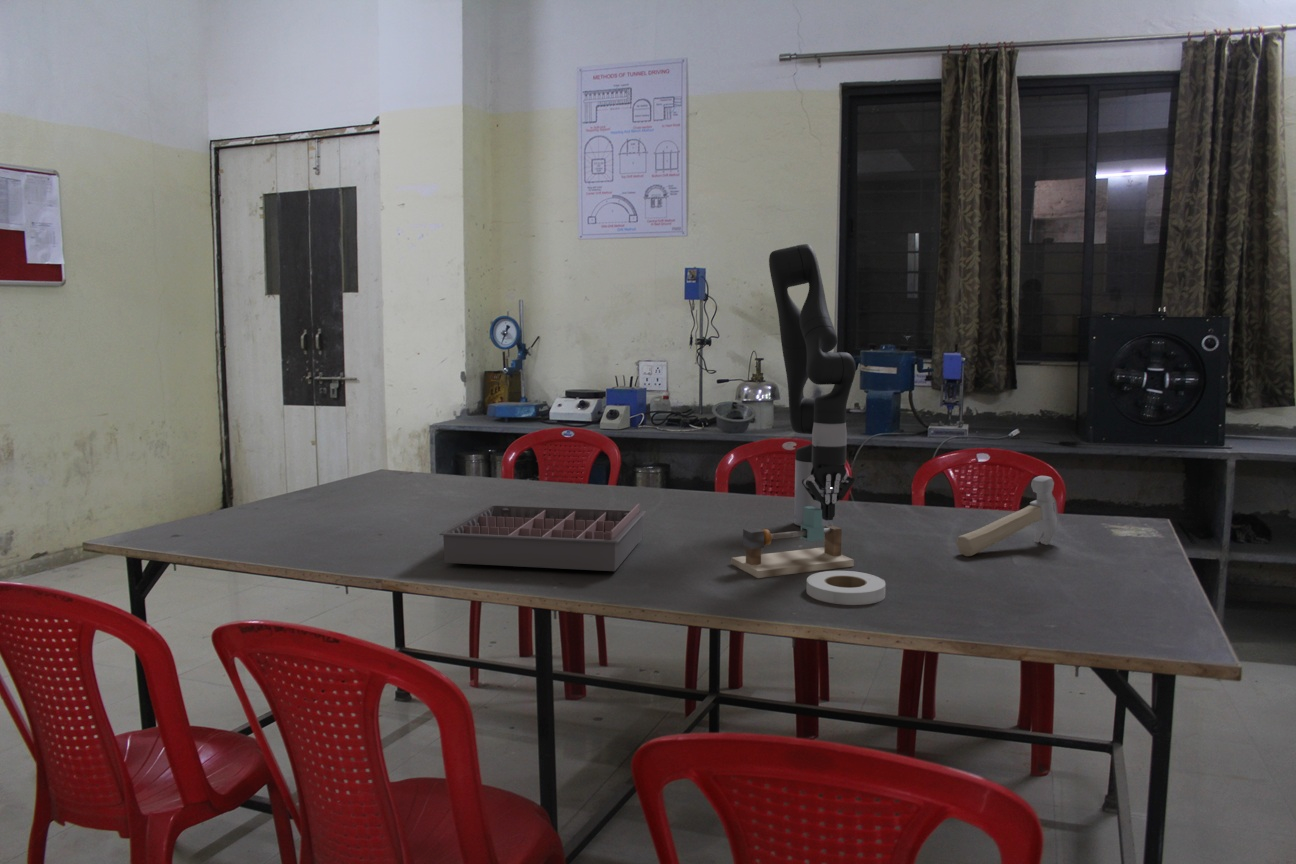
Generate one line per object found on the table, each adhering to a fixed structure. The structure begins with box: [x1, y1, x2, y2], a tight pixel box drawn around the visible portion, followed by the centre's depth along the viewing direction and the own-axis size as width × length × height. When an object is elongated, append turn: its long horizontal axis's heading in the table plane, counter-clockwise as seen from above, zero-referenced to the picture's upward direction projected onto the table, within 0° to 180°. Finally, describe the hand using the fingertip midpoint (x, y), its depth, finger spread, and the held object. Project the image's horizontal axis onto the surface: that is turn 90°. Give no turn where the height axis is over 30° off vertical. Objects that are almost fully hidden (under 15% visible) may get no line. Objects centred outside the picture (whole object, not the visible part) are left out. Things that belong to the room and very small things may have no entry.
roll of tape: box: [805, 570, 887, 606], centre depth 186 cm, size 16×15×3 cm
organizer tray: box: [439, 503, 647, 572], centre depth 216 cm, size 32×40×10 cm
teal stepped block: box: [800, 506, 825, 542], centre depth 208 cm, size 4×4×7 cm
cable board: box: [730, 524, 855, 579], centre depth 206 cm, size 24×12×9 cm, turn 113°
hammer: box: [956, 475, 1059, 557], centre depth 221 cm, size 16×5×30 cm
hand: (827, 519), depth 209 cm, fingers closed
